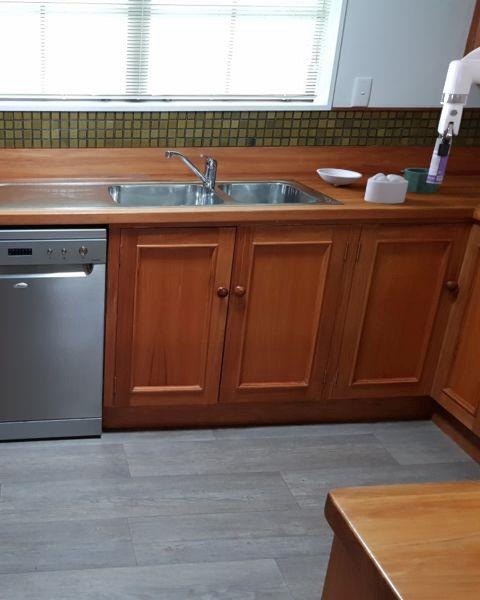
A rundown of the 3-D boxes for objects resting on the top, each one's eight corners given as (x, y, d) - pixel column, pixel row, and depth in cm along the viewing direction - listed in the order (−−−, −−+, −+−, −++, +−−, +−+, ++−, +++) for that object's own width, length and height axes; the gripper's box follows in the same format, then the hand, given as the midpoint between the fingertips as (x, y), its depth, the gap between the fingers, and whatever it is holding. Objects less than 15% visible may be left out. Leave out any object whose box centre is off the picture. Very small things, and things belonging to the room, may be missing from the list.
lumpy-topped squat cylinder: (408, 202, 211) (414, 177, 208) (376, 204, 208) (382, 179, 205) (387, 195, 221) (392, 171, 217) (356, 197, 217) (361, 173, 214)
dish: (368, 188, 231) (371, 175, 229) (341, 191, 225) (344, 178, 223) (332, 179, 246) (334, 167, 244) (305, 182, 240) (308, 170, 238)
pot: (438, 188, 233) (442, 169, 230) (443, 195, 223) (448, 175, 220) (395, 185, 238) (399, 166, 235) (398, 191, 228) (402, 172, 225)
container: (440, 181, 215) (450, 138, 209) (442, 184, 211) (453, 140, 205) (425, 180, 216) (435, 137, 210) (427, 183, 212) (438, 139, 206)
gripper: (471, 102, 194) (457, 159, 201) (462, 98, 209) (449, 152, 216) (445, 101, 197) (431, 157, 204) (437, 97, 211) (425, 150, 218)
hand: (440, 154), depth 210 cm, fingers closed on container, 4 cm apart
